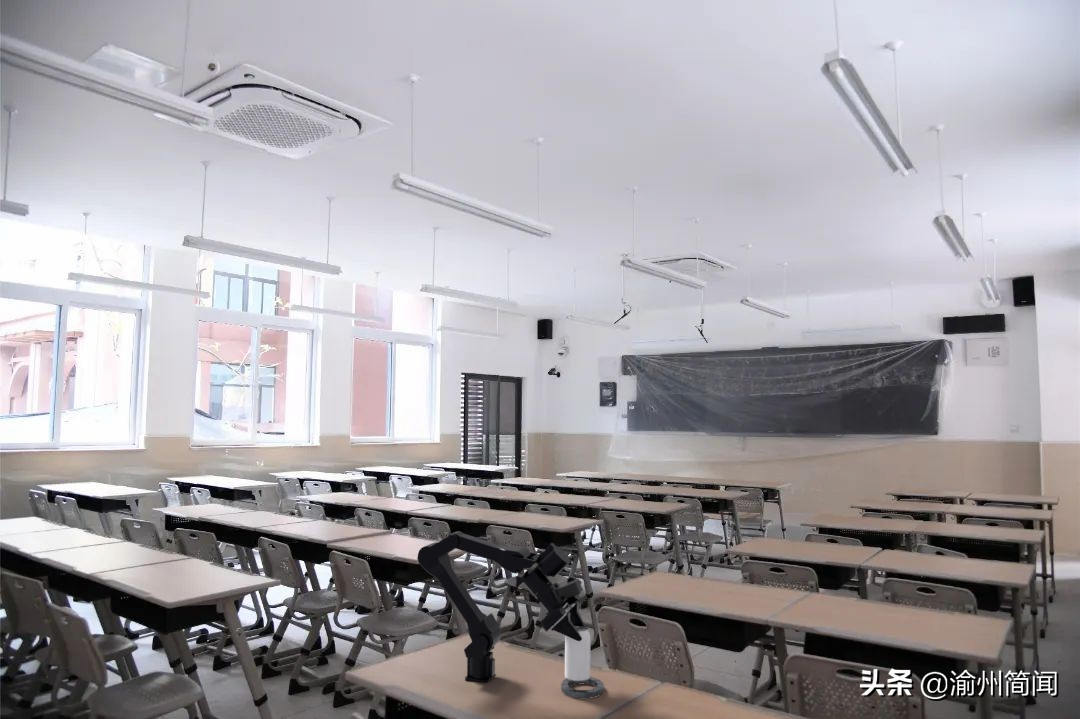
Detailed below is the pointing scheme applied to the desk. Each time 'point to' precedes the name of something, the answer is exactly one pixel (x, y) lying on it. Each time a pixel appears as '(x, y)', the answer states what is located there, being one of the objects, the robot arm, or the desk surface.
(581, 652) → the can
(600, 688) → the collar
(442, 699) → the desk surface
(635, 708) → the desk surface
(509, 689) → the desk surface
